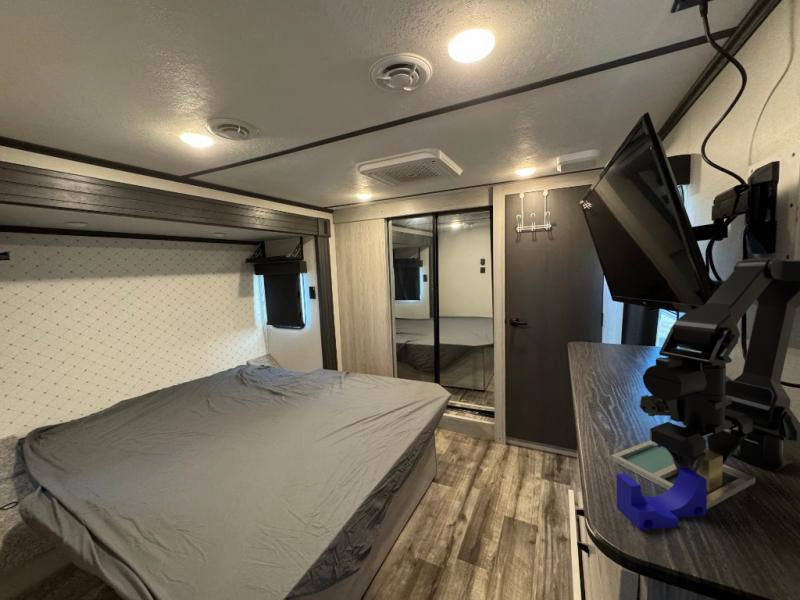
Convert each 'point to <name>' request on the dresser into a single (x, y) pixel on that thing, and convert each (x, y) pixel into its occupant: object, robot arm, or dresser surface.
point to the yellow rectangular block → (712, 469)
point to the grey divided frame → (673, 470)
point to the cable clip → (662, 501)
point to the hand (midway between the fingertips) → (701, 474)
